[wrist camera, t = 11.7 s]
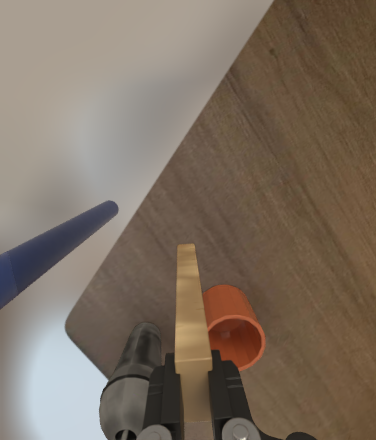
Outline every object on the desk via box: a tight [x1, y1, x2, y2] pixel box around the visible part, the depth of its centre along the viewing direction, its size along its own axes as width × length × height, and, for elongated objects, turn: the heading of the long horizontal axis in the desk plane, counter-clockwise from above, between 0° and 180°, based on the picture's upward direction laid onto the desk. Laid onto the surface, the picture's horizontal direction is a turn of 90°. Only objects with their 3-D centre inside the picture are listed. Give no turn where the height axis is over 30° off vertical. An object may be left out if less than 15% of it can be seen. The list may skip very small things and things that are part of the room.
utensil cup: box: [202, 285, 265, 371], centre depth 36 cm, size 8×8×8 cm
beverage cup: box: [99, 323, 161, 440], centre depth 31 cm, size 7×7×20 cm
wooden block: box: [175, 244, 213, 423], centre depth 18 cm, size 2×4×14 cm, turn 4°
